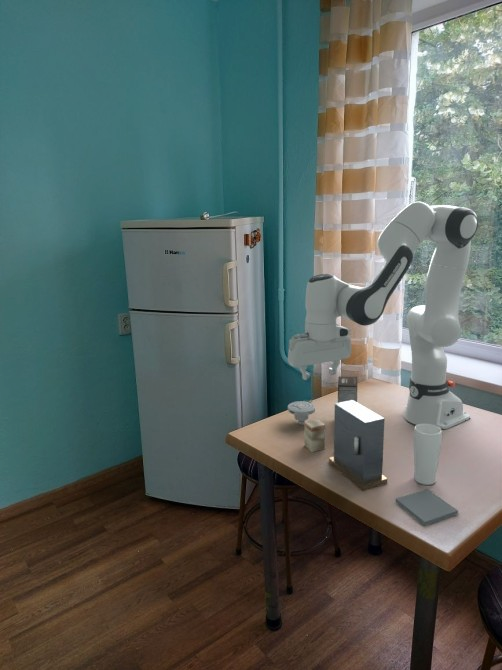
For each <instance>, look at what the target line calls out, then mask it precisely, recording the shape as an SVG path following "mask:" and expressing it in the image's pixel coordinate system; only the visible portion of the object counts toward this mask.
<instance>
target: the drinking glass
mask: <svg viewBox="0 0 502 670" xmlns="http://www.w3.org/2000/svg"><path fill="white" fill-rule="evenodd" d="M442 430H443V429H440V428H439V427H438V426H435V425H432V424H418V425H416V424H415V426H414V430H413V463H414V466H413V467H414V473H413V474H414V475H413V477H414V481H416V482H417V483H418V484H420V485H423V486H430V485H433V484H434V483H435V482H436V479H437V478H436V477H437V470H438V464H439V458H440V454H441V447H442V435H443V434H442V433H443V431H442Z"/></svg>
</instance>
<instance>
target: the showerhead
mask: <svg viewBox="0 0 502 670" xmlns="http://www.w3.org/2000/svg"><path fill="white" fill-rule="evenodd" d="M312 402H313V400H312V399H310V400H309V401H306V400H305V401H303V400H302V401H301V400H299V401H292V402H291V403H289V404H288V405H287V411H288V413H290V414H292V415H294V416H293V417H294V419H295V420H297V422H298V425H303V426H304V422H306V421H308V420H309V417H310V415H312V414H314V413H315V412H316V405H315V404H314V403H312Z"/></svg>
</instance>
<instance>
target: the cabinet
mask: <svg viewBox="0 0 502 670" xmlns="http://www.w3.org/2000/svg"><path fill="white" fill-rule="evenodd" d="M385 422H386V421H385V417H383V416H381V415H380V414H378V413H377V412H374V411H373V410H371V409H369V408H368V407H366V406H364V405H362V404H361V403H359V402H358V401H357V402H356V401H354V400H350V401H345V402H340V403H338V402H336V403H334V422H333V423H334V425H333V426H334V428H333V431H334V435H333V437H334V438H333V439H334V440H333V456H330V457H329V458H328V463H329V464H330V465H331V466H332V467H334V468H335V470H337V471H338V472H339V473H341V475H343V476H344V477H345V478H346V479H348V480H349V481H350V482H351V483H352V484H354V486H356V487H357V488H358V489H359V490H360V491H362V492H364V491H367V490H370V489H373V488H378V487H380V486H384V485H388V478H387V477H386V476H385V475H383V465H384V463H383V461H384V440H385Z"/></svg>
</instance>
